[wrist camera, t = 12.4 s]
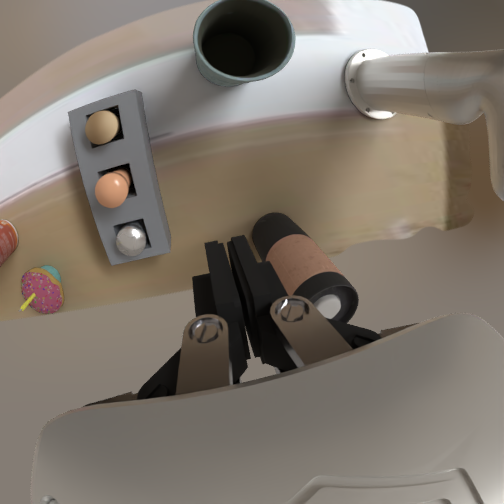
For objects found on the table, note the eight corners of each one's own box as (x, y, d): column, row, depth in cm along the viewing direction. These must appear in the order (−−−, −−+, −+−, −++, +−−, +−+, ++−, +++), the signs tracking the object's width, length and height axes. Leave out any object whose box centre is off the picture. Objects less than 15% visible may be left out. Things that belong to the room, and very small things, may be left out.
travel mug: (302, 236, 46) (366, 311, 29) (265, 261, 47) (311, 348, 30) (282, 201, 42) (349, 270, 25) (241, 228, 43) (283, 313, 26)
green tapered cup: (219, 104, 33) (234, 100, 23) (174, 52, 28) (170, 26, 18) (277, 66, 32) (314, 51, 22) (235, 14, 26) (257, -19, 16)
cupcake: (24, 262, 35) (-5, 304, 25) (57, 249, 36) (29, 293, 26) (46, 300, 40) (25, 345, 30) (78, 290, 41) (60, 339, 31)
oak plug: (124, 107, 29) (113, 106, 24) (129, 134, 31) (119, 138, 26) (97, 115, 29) (82, 116, 24) (102, 142, 31) (88, 148, 26)
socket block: (141, 92, 29) (135, 89, 25) (171, 236, 41) (170, 252, 36) (81, 111, 28) (67, 112, 24) (117, 248, 39) (111, 265, 35)
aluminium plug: (146, 208, 37) (140, 225, 32) (152, 233, 39) (149, 252, 34) (120, 214, 36) (111, 232, 31) (128, 238, 38) (121, 258, 33)
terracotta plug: (131, 160, 32) (122, 170, 27) (138, 189, 34) (130, 203, 29) (104, 168, 31) (91, 179, 26) (111, 196, 33) (100, 211, 28)
